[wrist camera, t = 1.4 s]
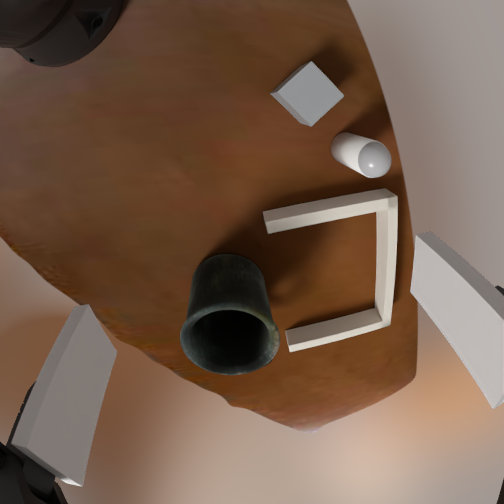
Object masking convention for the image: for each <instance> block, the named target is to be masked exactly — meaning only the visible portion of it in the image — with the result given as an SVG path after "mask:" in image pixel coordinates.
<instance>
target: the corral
mask: <svg viewBox="0 0 504 504" xmlns="http://www.w3.org/2000/svg"><path fill="white" fill-rule="evenodd" d="M372 212H376V213H377V265H376V291H375V308H373V309H369V310H365V311H362V312H358V313H355V314H351V315H347V316H343V317H339V318H336V319H332V320H328V321H324V322H320V323H315V324H311V325H307V326H303V327H298V328H294V329H290V330H285V333H286V338H287V342H288V346H289V350H290V352H292V351H297V350H301V349H305V348H310V347H314V346H318V345H322V344H326V343H330V342H334V341H337V340H341V339H345V338H349V337H352V336H356V335H359V334H363V333H366V332H370V331H373V330H376V329H379V328H383V327H386V326H389V325H390V321H391V313H392V304H393V294H394V283H395V271H396V254H397V227H398V196H396V195H395V194H393V193H392V192H390V191H389V190H387V189H386V188H383V189H378V190H372V191H366V192H361V193H355V194H349V195H344V196H339V197H333V198H328V199H323V200H318V201H312V202H307V203H302V204H297V205H292V206H287V207H282V208H277V209H273V210H268V211H263V216H264V222H265V225H266V228H267V231H268V234H270V233H275V232H279V231H284V230H289V229H294V228H298V227H303V226H308V225H313V224H318V223H322V222H327V221H332V220H337V219H342V218H347V217H352V216H357V215H362V214H367V213H372Z"/></svg>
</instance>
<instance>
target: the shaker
mask: <svg viewBox="0 0 504 504" xmlns="http://www.w3.org/2000/svg"><path fill="white" fill-rule="evenodd" d="M331 153H332V155H333V157H334V159H335V160H337V161H338V162H340V163H342V164H344V165H346V166H348V167H349V168H351V169H353V170H355V171H357V172H359V173H361V174H363V175H364V176H366V177H369V178H376V177H380V176H383V175H384V174H386V173H387V172H388V170H389V168H390V166H391V155H390V153H389V151H388V149H387V148H386V147H385V146H384V145H383V144H382V143H381V142H378V141H375V140H372V139H369V138H365V137H362V136H359V135H355V134H352V133H348V132H343V133H340V134H338V135H337V136H336V137H335V138H334V139H333V141H332V143H331Z"/></svg>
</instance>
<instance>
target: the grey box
mask: <svg viewBox="0 0 504 504" xmlns="http://www.w3.org/2000/svg"><path fill="white" fill-rule="evenodd" d="M270 94H271V95H272V96H273V97H274V98H275V99H276V100H277V101H278V102H279V103H280V104H282V105H283V106H284V107H285V108H286V109H287V110H288V111H289V112H290V113H291V114H292V115H293V116H294V117H295V118H296V119H297V120H298V121H299V122H300V123H301V124H305V125H308V126H312V125H314V124H315V123H316V122H317V121H318V120H319V119H320V118H321V117H322V116H323V115H324V114H325V113H326V112H327V111H329V110H330V109H331V108H332V107H333V106H334V105H335V104H336V103H337V102H338V101H339V100H340V99H342V98H343V97H344V95H343V94H342V93H341V92H340V91H339V90H338V89H337V87H336V86H335V85H334V84H333V83H332V82H331V81H330V80H329V79H328V78H327V77H326V76H325V74H324V73H323V72H322V71H321V70H320V69H319V68H318V67H317V66H316V65H315V64H314V63H313V62H312V61H311V62H308V63H306V64H304V65H302V66H300V67H299V68H298V69H297V70H295V71H294V72H293V73H292V74H291V75H290V76H289V77H288V78H287V79H285V80H284V81H283V82H282V83H281V84H280V85H279V86H278V87H277V88H276V89H275V90H274V91H272V92H271V93H270Z"/></svg>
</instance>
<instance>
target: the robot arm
mask: <svg viewBox="0 0 504 504" xmlns="http://www.w3.org/2000/svg"><path fill="white" fill-rule="evenodd" d="M122 2H123V0H0V47H2V48H13V49H14V50H15V51H16V52H17V53H19V54H20V55H22V57H23V58H25V59H26V60H27V61H29V62H30V63H32V64H35V65H39V66H47V67H59V66H64V65H67V64H70V63H73V62H75V61H77V60H79V59H81V58H82V57H84V56H85V55H87V54H88V53H89V52H91V51H92V50H93V49H94V48H95V47H97V46H98V45H99V44H100V43H101V42H102V40H103V39H104V38H105V37H106V36H107V34H108V33H109V32H110V30H111V29H112V27H113V26H114V24H115V22H116V20H117V18H118V16H119V13H120V10H121V7H122ZM410 292H411V293H412V294H413V296H414V297H415V298H416V299H417V301H418V302H419V303H420V304H421V306H422V307H423V308H424V310H425V311H426V312H427V314H428V315H429V316H430V317H431V319H432V320H433V321H434V323H435V324H436V325H437V327H438V328H439V329H440V331H441V332H442V333H443V335H444V336H445V338H446V339H447V340H448V341H449V343H450V344H451V346H452V347H453V349H454V350H455V352H456V353H457V354H458V356H459V357H460V359H461V360H462V362H463V363H464V365H465V366H466V367H467V369H468V371H469V372H470V374H471V375H472V377H473V378H474V380H475V381H476V383H477V384H478V386H479V387H480V389H481V390H482V392H483V394H484V395H485V397H486V399H487V400H488V402H489V404H490V405H491V407H492V409H494V408H496V407H498V406H499V405H500V404H502V403H503V402H504V289H503V288H501V287H500V286H496V287H494V286H493V285H492V284H491V283H490V282H489V281H488V280H487V279H485V277H484V276H482V275H481V274H480V273H479V272H478V271H477V270H476V269H475V268H474V267H472V266H471V265H470V264H469V263H468V262H467V261H466V260H465V259H463V258H462V257H461V256H460V255H459V254H458V253H457V252H455V251H454V250H453V249H452V248H451V247H449V246H448V245H447V244H446V243H445V242H443V241H442V240H441V239H440V238H439V237H437V236H436V235H435V234H433V233H432V232H431V231H430V232H426V233H422V234H418V235H416V241H415V254H414V264H413V274H412V282H411V290H410ZM116 355H117V351H116V349H115V348H114V346H113V345H112V343H111V341H110V340H109V338H108V337H107V335H106V333H105V332H104V330H103V329H102V327H101V325H100V324H99V322H98V320H97V318H96V317H95V315H94V313H93V311H92V310H91V308H90V306H89V304H88V305H82V306H77V307H74V309H73V310H72V312H71V314H70V316H69V317H68V319H67V321H66V323H65V325H64V327H63V329H62V330H61V332H60V334H59V336H58V338H57V340H56V342H55V343H54V345H53V347H52V349H51V351H50V353H49V355H48V357H47V359H46V361H45V363H44V365H43V367H42V370H41V372H40V374H39V376H38V378H37V380H36V381H35V382H34V384H33V385H32V386H31V387H30V389H29V390H28V392H27V394H26V396H25V399H24V401H23V402H24V404H22V406H21V408H20V413H18V416H17V418H16V421H15V423H14V426H13V428H12V431H11V434H10V437H9V439H8V442H7V444H6V446H5V445H3V444H2V443H1V442H0V504H68V503H67V501H66V499H65V497H64V495H63V492H62V490H61V488H60V486H59V485H58V483H56V482H55V481H54V480H55V476H56V477H58V478H59V479H61V480H62V481H64V482H66V483H69V484H73V485H78V486H83V482H84V477H85V472H86V467H87V462H88V458H89V453H90V449H91V444H92V440H93V436H94V432H95V428H96V424H97V420H98V416H99V412H100V409H101V405H102V401H103V398H104V394H105V391H106V387H107V384H108V380H109V377H110V374H111V370H112V367H113V364H114V361H115V358H116ZM497 504H504V480H503V483H502V487H501V491H500V495H499V498H498V501H497Z"/></svg>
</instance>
